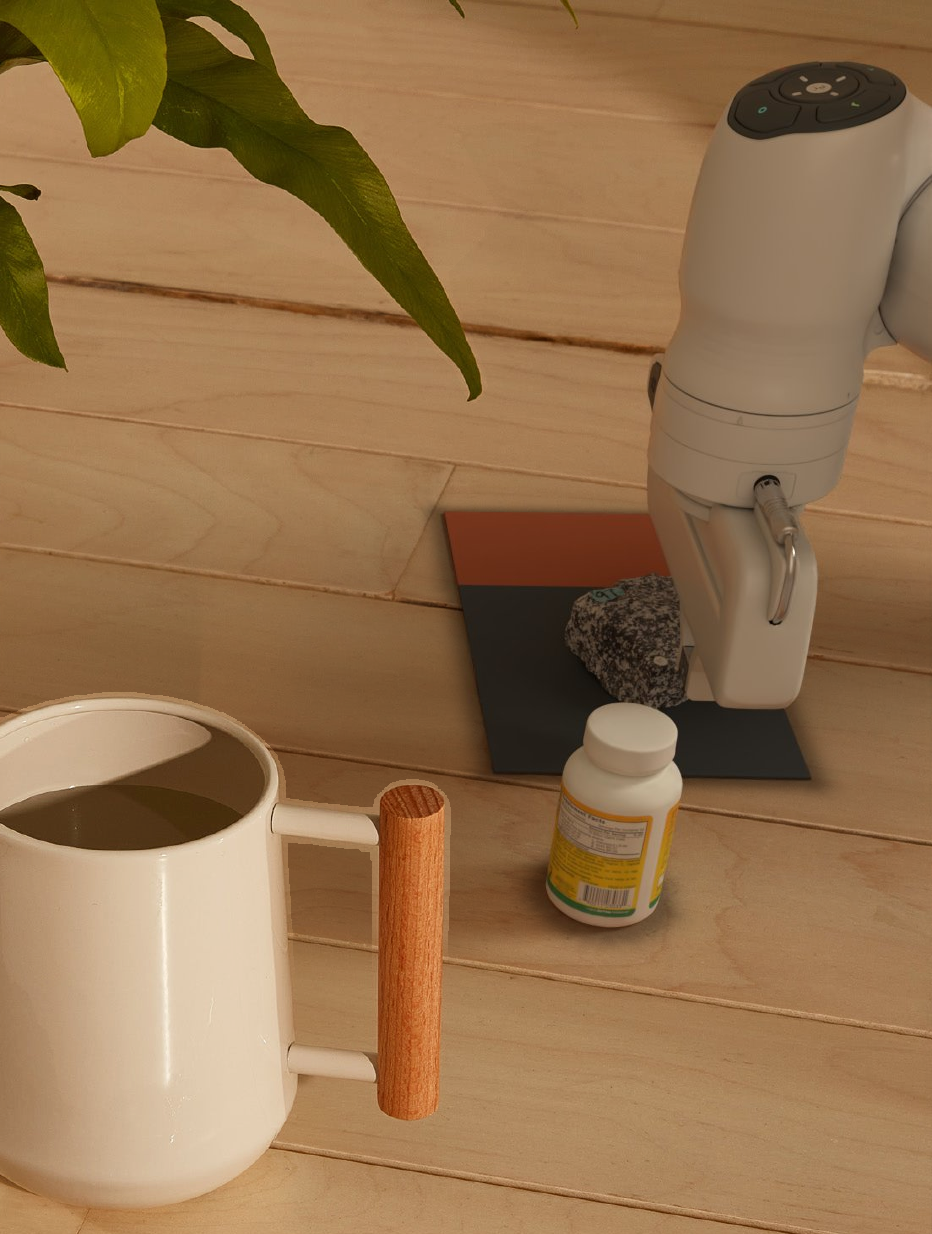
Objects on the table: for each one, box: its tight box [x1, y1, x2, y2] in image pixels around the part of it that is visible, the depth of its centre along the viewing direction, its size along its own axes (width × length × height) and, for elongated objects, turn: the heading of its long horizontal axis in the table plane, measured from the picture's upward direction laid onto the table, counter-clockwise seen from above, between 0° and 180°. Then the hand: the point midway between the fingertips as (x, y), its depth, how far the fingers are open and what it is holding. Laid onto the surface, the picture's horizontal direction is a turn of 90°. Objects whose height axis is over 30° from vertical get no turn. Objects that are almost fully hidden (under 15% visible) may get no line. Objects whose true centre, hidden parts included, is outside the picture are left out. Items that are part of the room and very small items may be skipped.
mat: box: [443, 510, 812, 781], centre depth 121 cm, size 16×28×1 cm, turn 177°
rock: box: [565, 573, 689, 710], centre depth 117 cm, size 8×10×4 cm
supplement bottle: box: [545, 703, 683, 928], centre depth 99 cm, size 5×5×10 cm
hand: (697, 685), depth 108 cm, fingers closed
